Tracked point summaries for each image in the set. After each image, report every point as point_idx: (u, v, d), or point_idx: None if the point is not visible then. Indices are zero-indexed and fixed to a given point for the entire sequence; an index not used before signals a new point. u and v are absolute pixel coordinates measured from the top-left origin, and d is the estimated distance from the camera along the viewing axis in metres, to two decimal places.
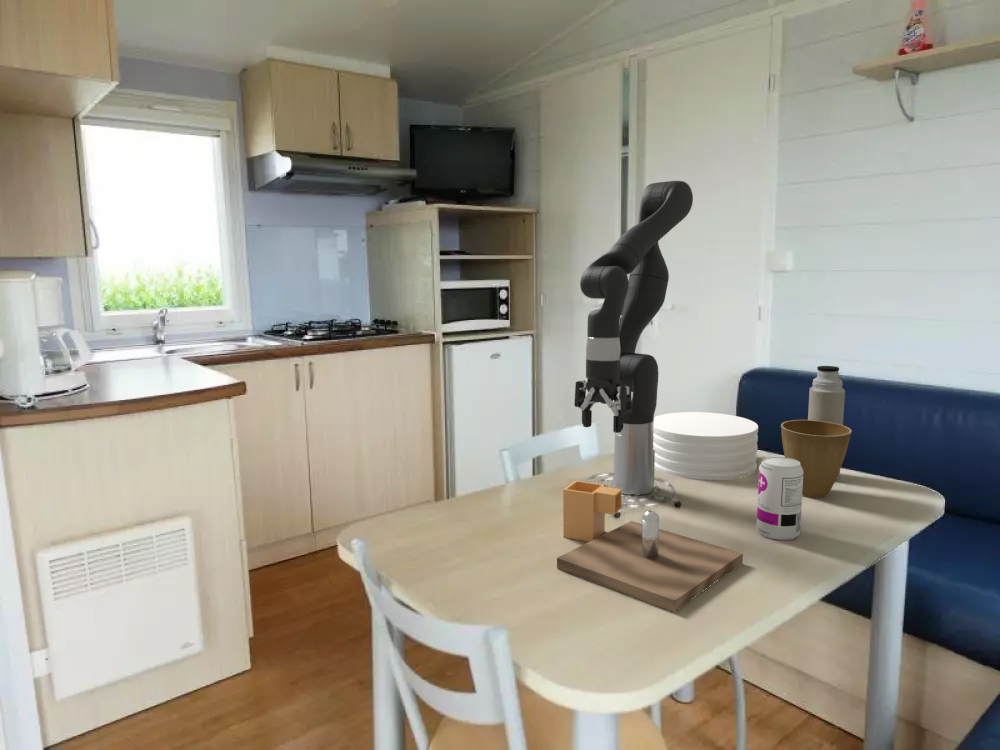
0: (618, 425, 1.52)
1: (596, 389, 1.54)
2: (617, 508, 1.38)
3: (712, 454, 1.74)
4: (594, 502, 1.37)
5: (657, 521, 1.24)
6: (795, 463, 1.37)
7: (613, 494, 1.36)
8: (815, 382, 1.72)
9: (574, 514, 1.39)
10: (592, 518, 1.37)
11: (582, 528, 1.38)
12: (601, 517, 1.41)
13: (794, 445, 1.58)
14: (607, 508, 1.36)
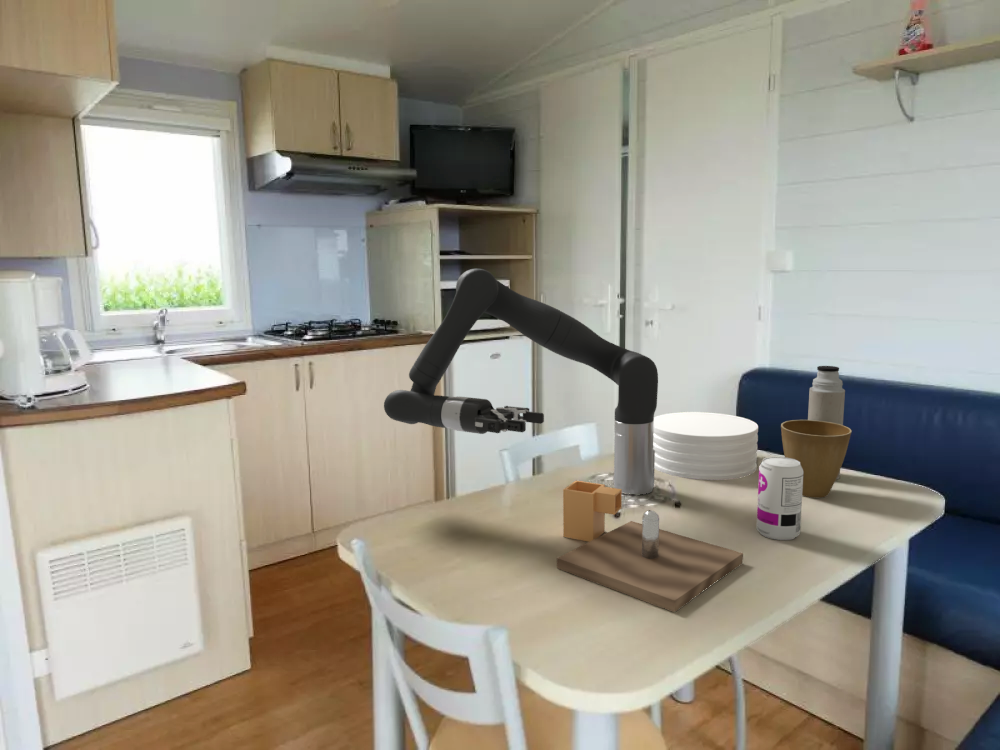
0: None
1: None
2: (617, 508, 1.38)
3: (712, 454, 1.74)
4: (594, 502, 1.37)
5: (657, 521, 1.24)
6: (795, 463, 1.37)
7: (613, 494, 1.36)
8: (815, 382, 1.72)
9: (574, 514, 1.39)
10: (592, 518, 1.37)
11: (582, 528, 1.38)
12: (601, 517, 1.41)
13: (794, 445, 1.58)
14: (607, 508, 1.36)
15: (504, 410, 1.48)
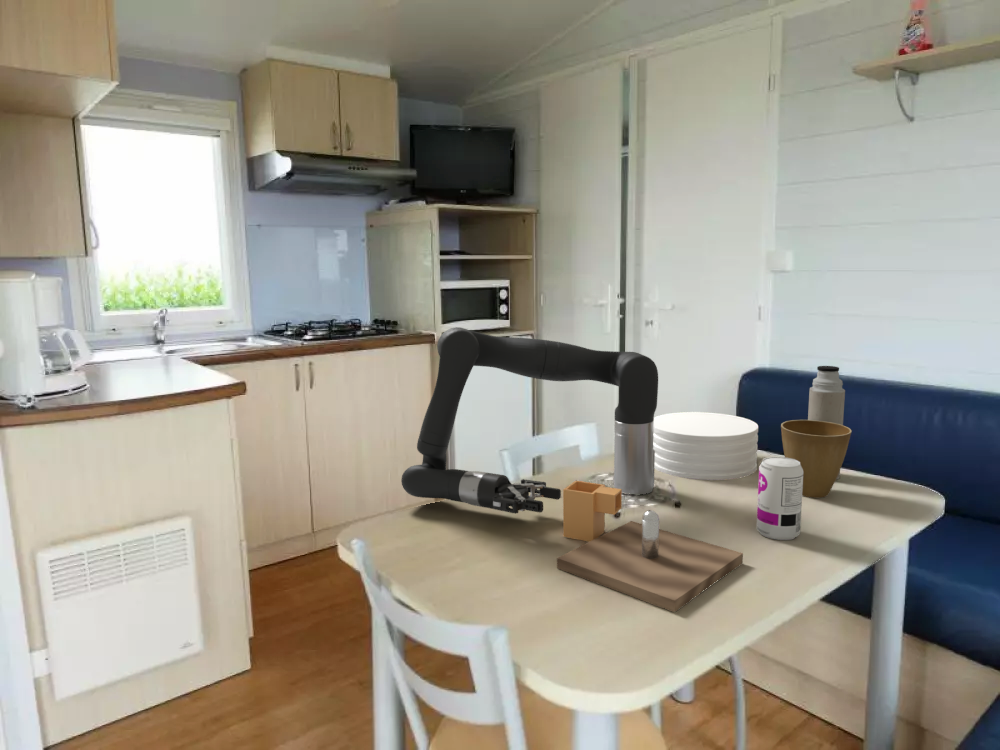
0: None
1: None
2: (617, 508, 1.38)
3: (712, 454, 1.74)
4: (594, 502, 1.37)
5: (657, 521, 1.24)
6: (795, 463, 1.37)
7: (613, 494, 1.36)
8: (815, 382, 1.72)
9: (574, 514, 1.39)
10: (592, 518, 1.37)
11: (582, 528, 1.38)
12: (601, 517, 1.41)
13: (794, 445, 1.58)
14: (607, 508, 1.36)
15: (521, 486, 1.49)
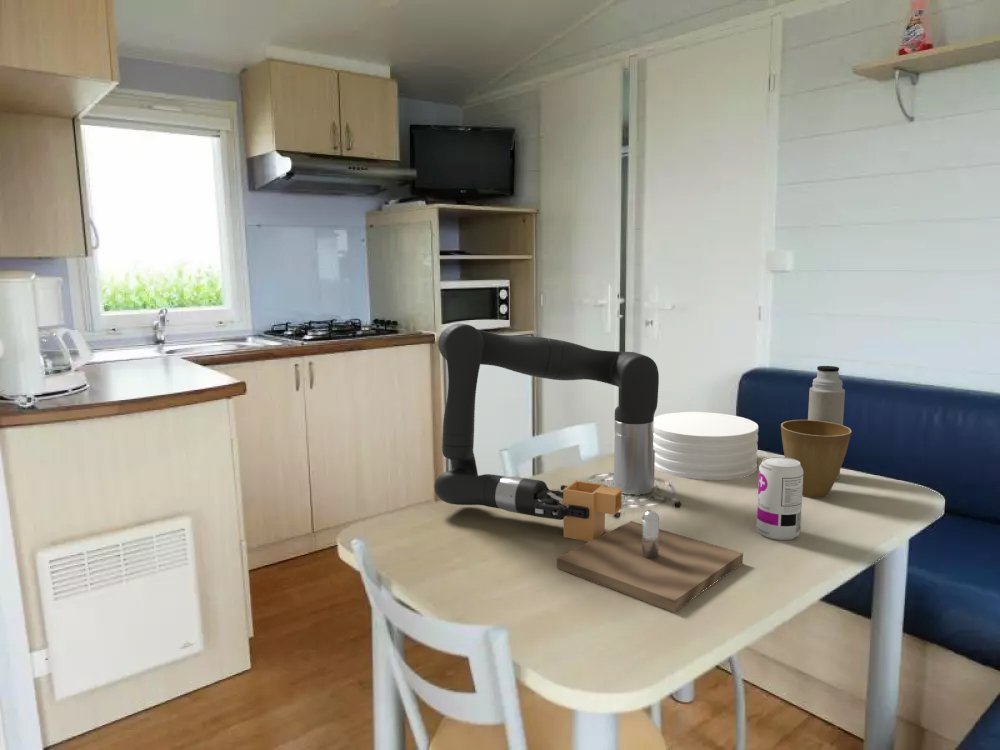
0: None
1: None
2: (617, 508, 1.38)
3: (712, 454, 1.74)
4: (594, 502, 1.37)
5: (657, 521, 1.24)
6: (795, 463, 1.37)
7: (613, 494, 1.36)
8: (815, 382, 1.72)
9: None
10: (592, 518, 1.37)
11: (582, 528, 1.38)
12: (601, 517, 1.41)
13: (794, 445, 1.58)
14: (607, 508, 1.36)
15: (560, 492, 1.45)
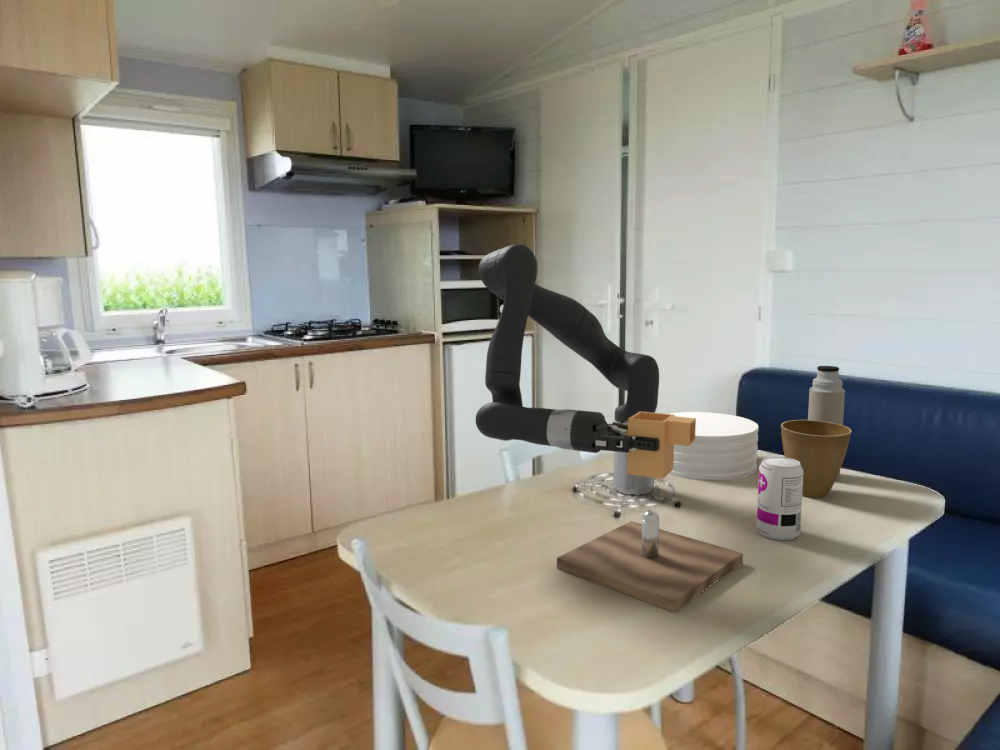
0: None
1: None
2: (691, 440, 1.20)
3: (712, 454, 1.74)
4: (665, 432, 1.19)
5: (657, 521, 1.24)
6: (795, 463, 1.37)
7: (687, 422, 1.18)
8: (815, 382, 1.72)
9: None
10: (662, 450, 1.19)
11: (650, 462, 1.20)
12: (671, 452, 1.23)
13: (794, 445, 1.58)
14: (680, 439, 1.18)
15: (621, 425, 1.26)
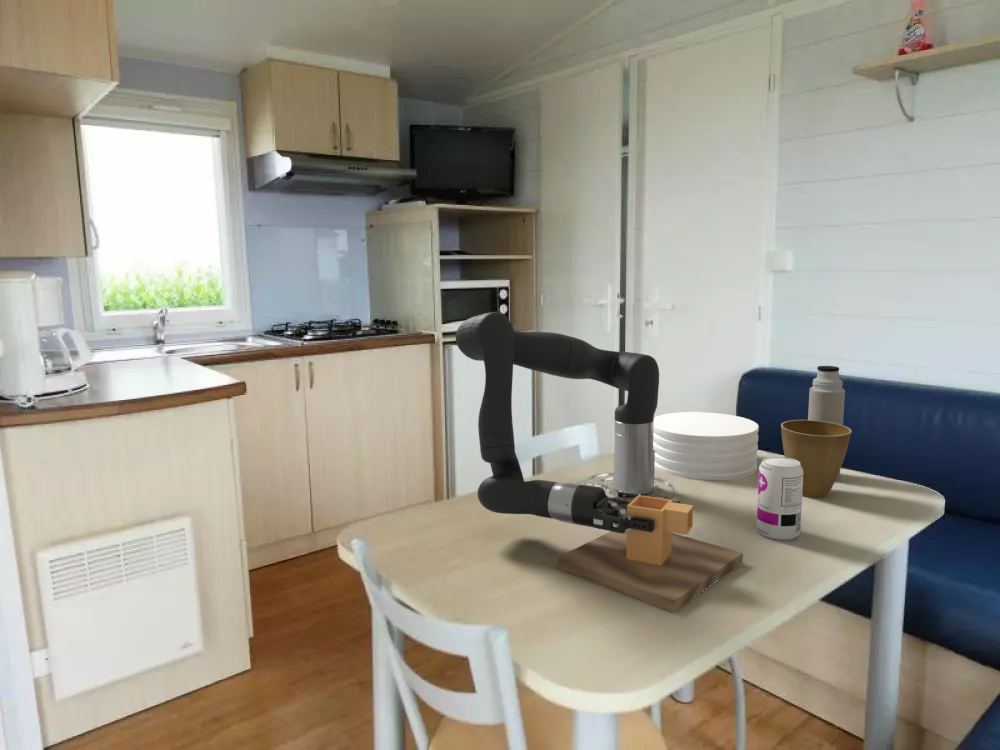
0: None
1: None
2: (688, 527, 1.23)
3: (712, 454, 1.74)
4: (663, 520, 1.21)
5: None
6: (795, 463, 1.37)
7: (685, 511, 1.20)
8: (815, 382, 1.72)
9: (640, 534, 1.23)
10: (660, 538, 1.21)
11: (648, 549, 1.23)
12: (669, 536, 1.25)
13: (794, 445, 1.58)
14: (678, 527, 1.21)
15: (622, 500, 1.29)
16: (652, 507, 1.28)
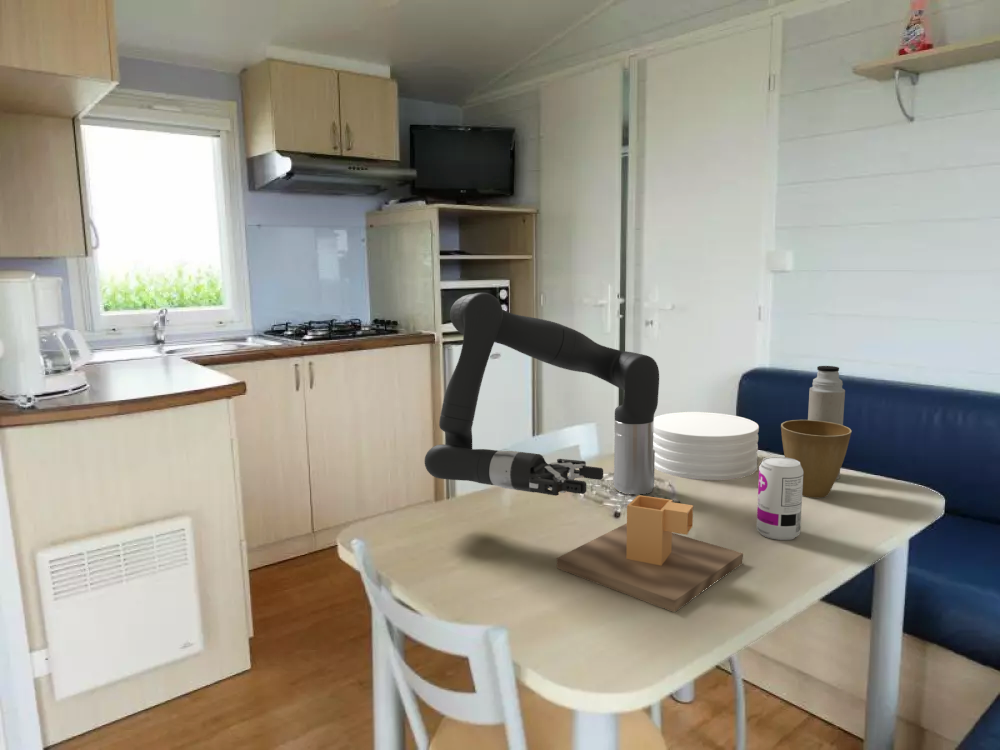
0: None
1: None
2: (688, 527, 1.23)
3: (713, 454, 1.74)
4: (663, 520, 1.21)
5: None
6: (795, 463, 1.37)
7: (685, 511, 1.20)
8: (815, 382, 1.72)
9: (640, 534, 1.23)
10: (660, 538, 1.21)
11: (648, 549, 1.23)
12: (669, 536, 1.25)
13: (794, 445, 1.58)
14: (678, 527, 1.21)
15: (559, 466, 1.35)
16: (652, 507, 1.28)
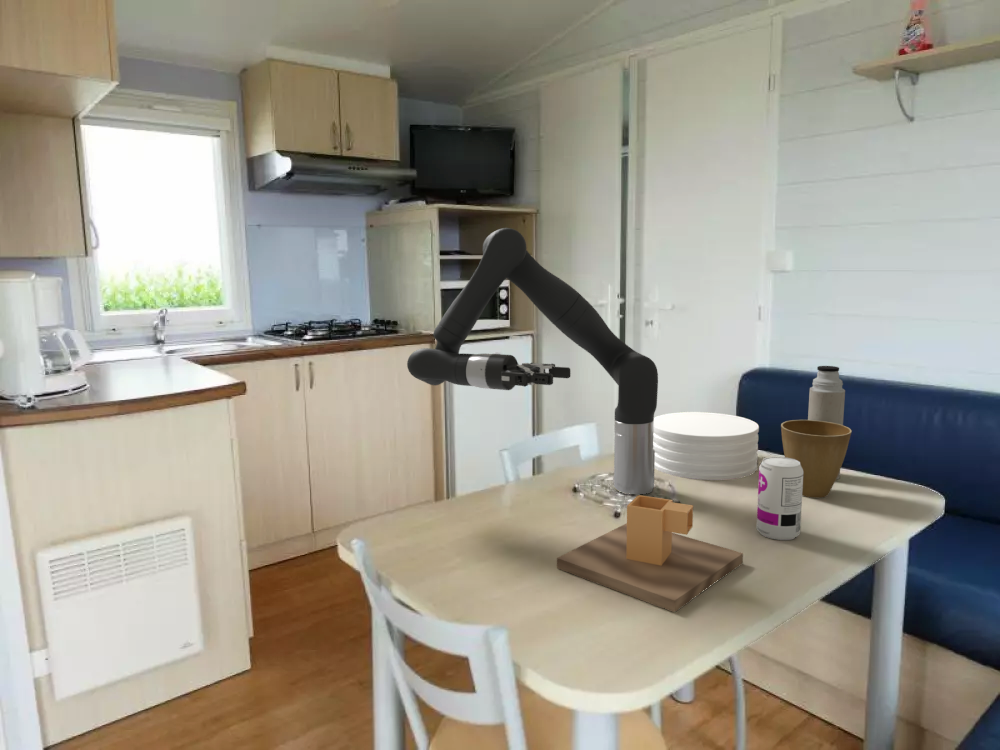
0: None
1: None
2: (688, 527, 1.23)
3: (713, 454, 1.74)
4: (663, 520, 1.21)
5: None
6: (795, 463, 1.37)
7: (685, 511, 1.20)
8: (815, 382, 1.72)
9: (640, 534, 1.23)
10: (660, 538, 1.21)
11: (648, 549, 1.23)
12: (669, 536, 1.25)
13: (794, 445, 1.58)
14: (678, 527, 1.21)
15: (530, 365, 1.46)
16: (652, 507, 1.28)
